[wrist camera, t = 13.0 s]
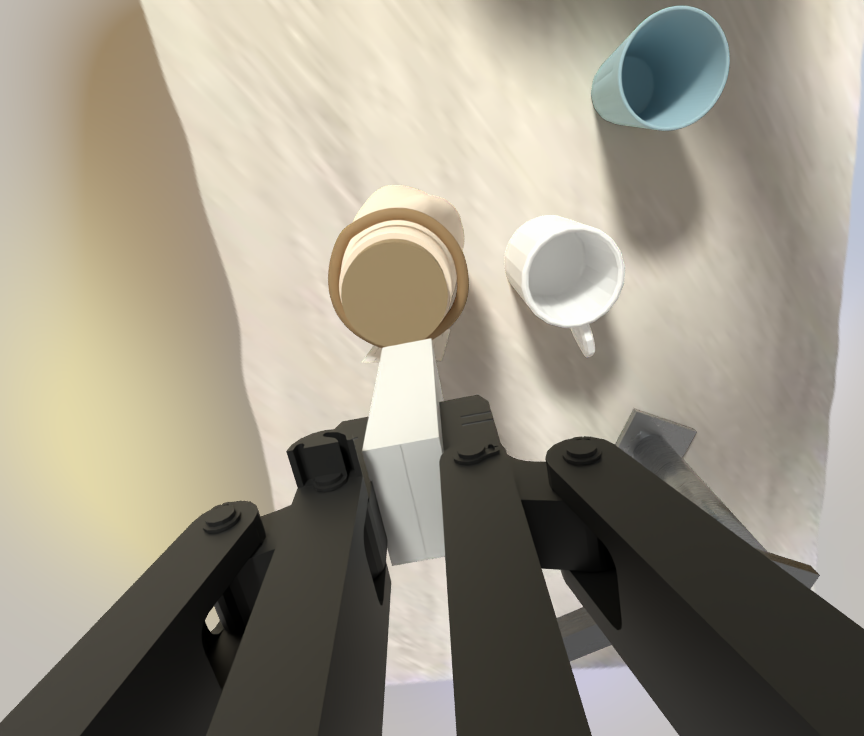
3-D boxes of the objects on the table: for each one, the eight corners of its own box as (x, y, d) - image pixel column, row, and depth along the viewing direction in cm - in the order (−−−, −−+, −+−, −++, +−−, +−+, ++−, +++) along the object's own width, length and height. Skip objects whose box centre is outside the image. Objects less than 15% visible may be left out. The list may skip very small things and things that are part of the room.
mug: (530, 349, 56) (553, 384, 47) (492, 233, 52) (508, 247, 43) (609, 321, 55) (647, 351, 46) (576, 202, 52) (610, 209, 42)
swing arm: (704, 554, 43) (719, 574, 41) (714, 579, 44) (729, 599, 42) (483, 646, 46) (487, 668, 44) (497, 667, 46) (501, 691, 44)
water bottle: (475, 270, 54) (531, 370, 27) (388, 306, 54) (360, 436, 28) (434, 164, 50) (452, 159, 24) (342, 204, 51) (262, 242, 25)
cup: (596, 154, 50) (640, 150, 40) (564, 67, 48) (602, 41, 38) (677, 112, 49) (742, 98, 40) (648, 22, 47) (710, -18, 37)
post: (634, 408, 59) (752, 539, 38) (693, 428, 60) (840, 567, 39) (604, 464, 61) (701, 618, 40) (662, 483, 62) (786, 643, 41)
